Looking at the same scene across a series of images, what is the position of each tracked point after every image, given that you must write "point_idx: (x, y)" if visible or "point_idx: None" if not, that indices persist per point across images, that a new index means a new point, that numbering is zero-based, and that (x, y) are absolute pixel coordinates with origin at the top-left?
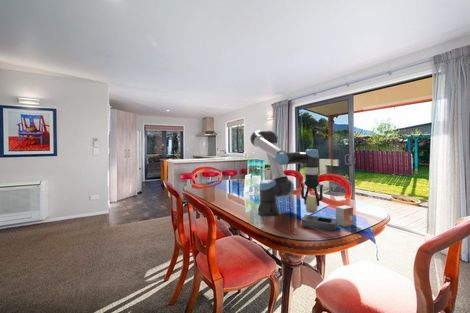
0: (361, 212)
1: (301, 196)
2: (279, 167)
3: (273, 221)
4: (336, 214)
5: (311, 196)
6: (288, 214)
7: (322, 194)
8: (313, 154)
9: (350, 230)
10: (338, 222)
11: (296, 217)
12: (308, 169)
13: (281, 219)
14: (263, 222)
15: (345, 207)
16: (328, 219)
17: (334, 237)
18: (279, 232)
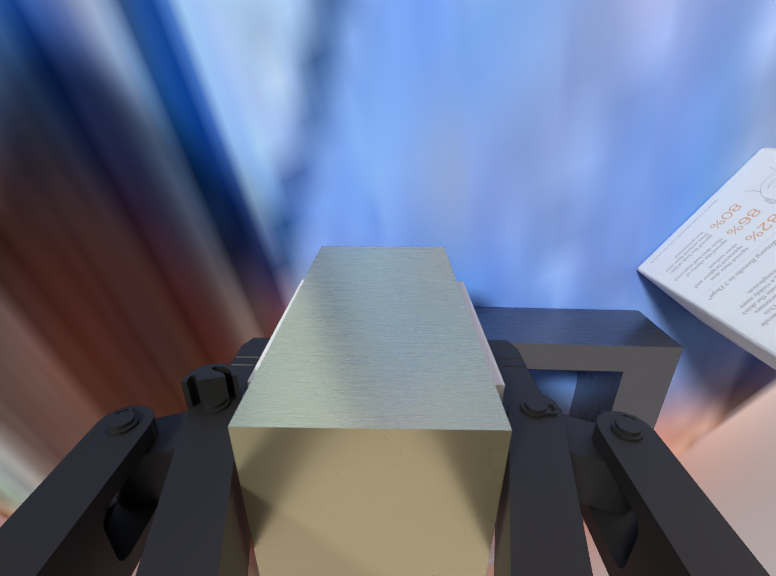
0: None
1: (115, 524)
2: None
3: (94, 417)
4: (719, 325)
5: (375, 556)
6: (73, 155)
7: (760, 573)
8: None
9: (735, 372)
10: (674, 298)
11: (209, 229)
12: None
13: (116, 349)
14: (48, 461)
15: None
16: (582, 365)
17: (582, 517)
18: (249, 557)
